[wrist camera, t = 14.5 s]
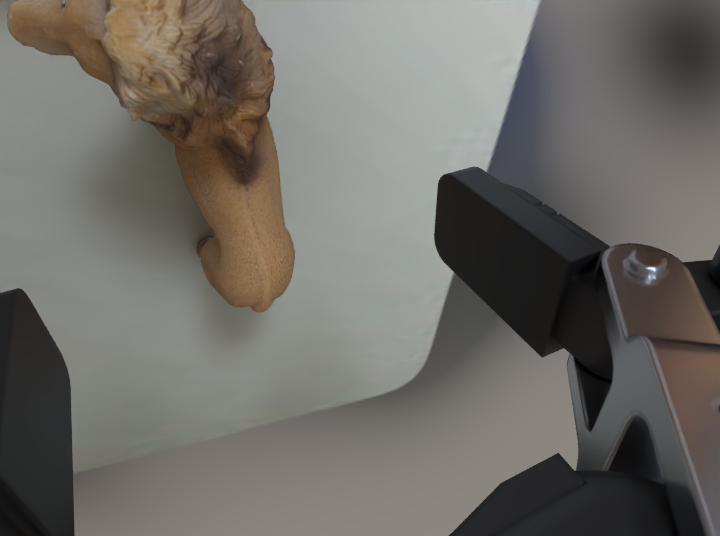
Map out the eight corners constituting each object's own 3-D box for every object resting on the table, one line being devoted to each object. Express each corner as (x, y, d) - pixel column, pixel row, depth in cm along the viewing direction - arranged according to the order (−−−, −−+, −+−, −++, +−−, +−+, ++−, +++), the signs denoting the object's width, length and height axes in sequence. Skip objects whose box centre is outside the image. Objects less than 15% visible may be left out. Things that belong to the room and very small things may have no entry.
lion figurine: (3, -53, 15) (-56, -14, 8) (174, -113, 16) (248, -122, 9) (218, 291, 24) (272, 437, 18) (316, 242, 25) (402, 363, 19)
